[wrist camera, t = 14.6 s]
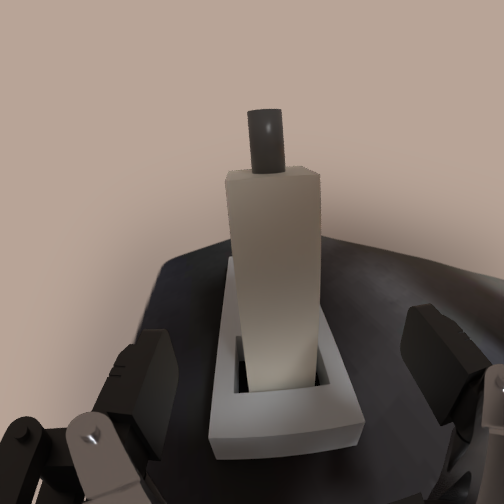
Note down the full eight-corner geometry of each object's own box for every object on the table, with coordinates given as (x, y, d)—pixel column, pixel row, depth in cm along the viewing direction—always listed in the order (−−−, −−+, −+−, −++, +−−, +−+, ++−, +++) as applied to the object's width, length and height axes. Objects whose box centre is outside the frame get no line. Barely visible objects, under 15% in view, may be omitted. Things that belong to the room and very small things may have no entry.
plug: (249, 368, 21) (224, 117, 15) (303, 362, 21) (298, 112, 15) (251, 408, 17) (218, 109, 11) (312, 402, 17) (316, 104, 11)
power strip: (232, 259, 41) (230, 236, 39) (291, 255, 40) (291, 232, 39) (216, 459, 14) (205, 429, 12) (356, 444, 13) (368, 412, 12)
